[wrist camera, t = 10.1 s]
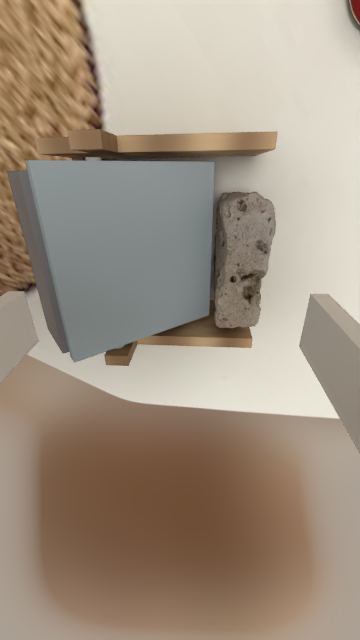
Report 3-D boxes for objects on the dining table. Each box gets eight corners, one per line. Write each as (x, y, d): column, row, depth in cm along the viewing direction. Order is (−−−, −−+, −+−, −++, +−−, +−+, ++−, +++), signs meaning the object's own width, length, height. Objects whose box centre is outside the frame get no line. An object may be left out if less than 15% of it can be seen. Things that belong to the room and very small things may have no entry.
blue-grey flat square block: (49, 335, 27) (68, 366, 22) (3, 160, 20) (17, 156, 16) (176, 298, 34) (209, 316, 30) (173, 161, 27) (214, 158, 23)
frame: (105, 304, 36) (62, 363, 25) (82, 147, 28) (3, 131, 17) (240, 307, 35) (257, 370, 24) (256, 143, 27) (291, 123, 16)
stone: (217, 349, 28) (209, 292, 36) (277, 344, 27) (256, 288, 35) (209, 213, 20) (202, 178, 27) (295, 203, 19) (263, 170, 27)
